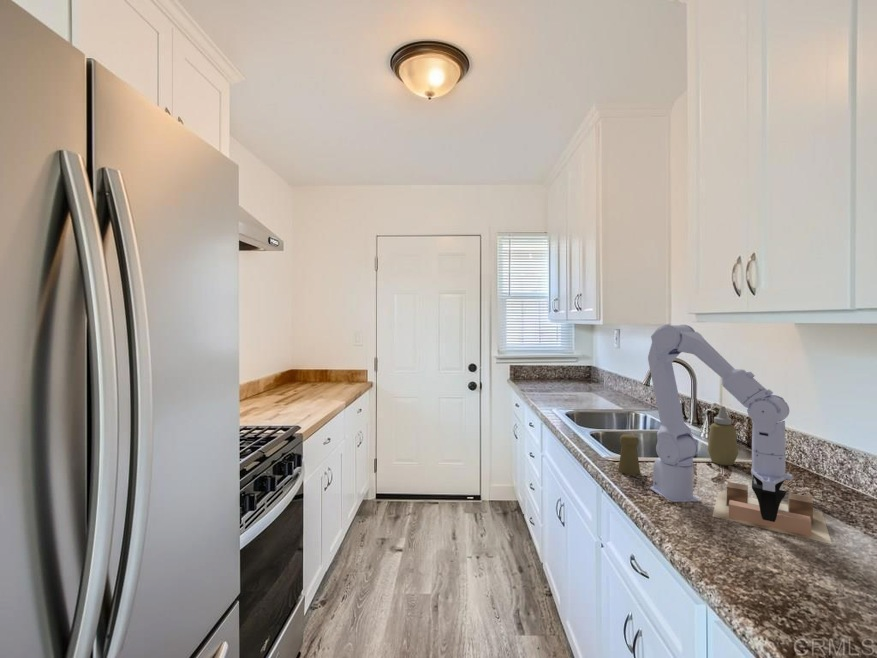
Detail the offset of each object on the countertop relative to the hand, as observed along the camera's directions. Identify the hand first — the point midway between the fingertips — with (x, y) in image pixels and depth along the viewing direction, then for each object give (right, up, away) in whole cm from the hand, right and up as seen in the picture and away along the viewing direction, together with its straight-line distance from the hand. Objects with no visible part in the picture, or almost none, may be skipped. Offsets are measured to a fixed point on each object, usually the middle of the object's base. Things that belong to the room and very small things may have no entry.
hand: (768, 513), depth 92 cm
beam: (0, -2, 0) cm, 2 cm away
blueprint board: (+4, -3, +5) cm, 7 cm away
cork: (-15, -3, +35) cm, 38 cm away
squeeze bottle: (+18, -3, +42) cm, 46 cm away
